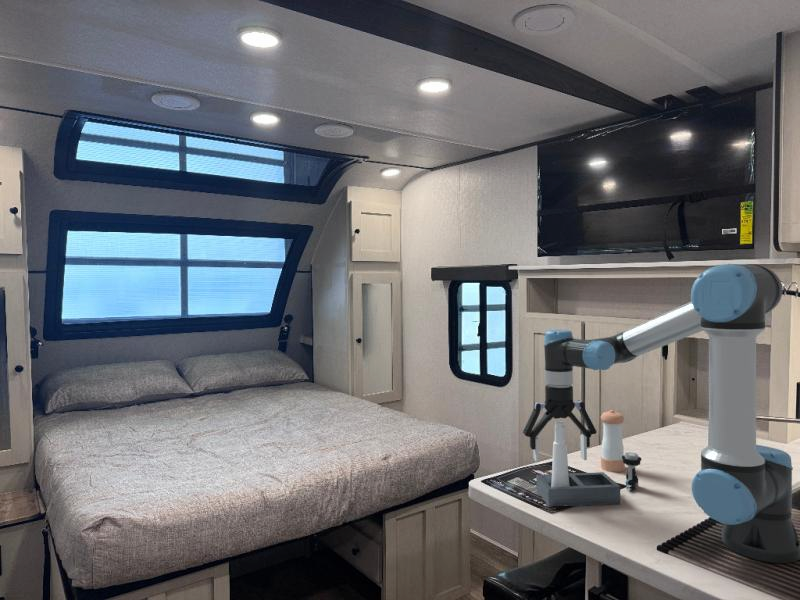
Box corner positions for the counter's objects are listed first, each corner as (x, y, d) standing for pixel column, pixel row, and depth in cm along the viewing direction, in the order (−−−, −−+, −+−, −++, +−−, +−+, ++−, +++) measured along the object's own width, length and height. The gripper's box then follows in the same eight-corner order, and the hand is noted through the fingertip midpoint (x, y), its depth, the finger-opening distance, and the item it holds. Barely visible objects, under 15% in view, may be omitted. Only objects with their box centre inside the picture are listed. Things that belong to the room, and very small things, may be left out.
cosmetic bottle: (568, 494, 157) (567, 418, 156) (574, 502, 151) (573, 424, 150) (547, 494, 157) (546, 419, 156) (552, 503, 151) (551, 425, 150)
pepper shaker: (621, 473, 172) (620, 413, 171) (597, 469, 176) (597, 410, 175) (627, 467, 177) (627, 409, 177) (604, 462, 182) (604, 406, 181)
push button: (637, 494, 155) (637, 459, 155) (618, 490, 159) (617, 456, 158) (643, 486, 161) (643, 453, 160) (625, 483, 164) (624, 450, 164)
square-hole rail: (603, 488, 160) (603, 472, 160) (620, 504, 149) (620, 486, 149) (536, 491, 159) (536, 474, 159) (548, 507, 148) (548, 489, 148)
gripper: (597, 380, 157) (597, 453, 158) (511, 383, 156) (513, 456, 157) (608, 386, 149) (609, 462, 150) (518, 389, 148) (519, 465, 149)
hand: (560, 459), depth 153 cm, fingers open, 13 cm apart
